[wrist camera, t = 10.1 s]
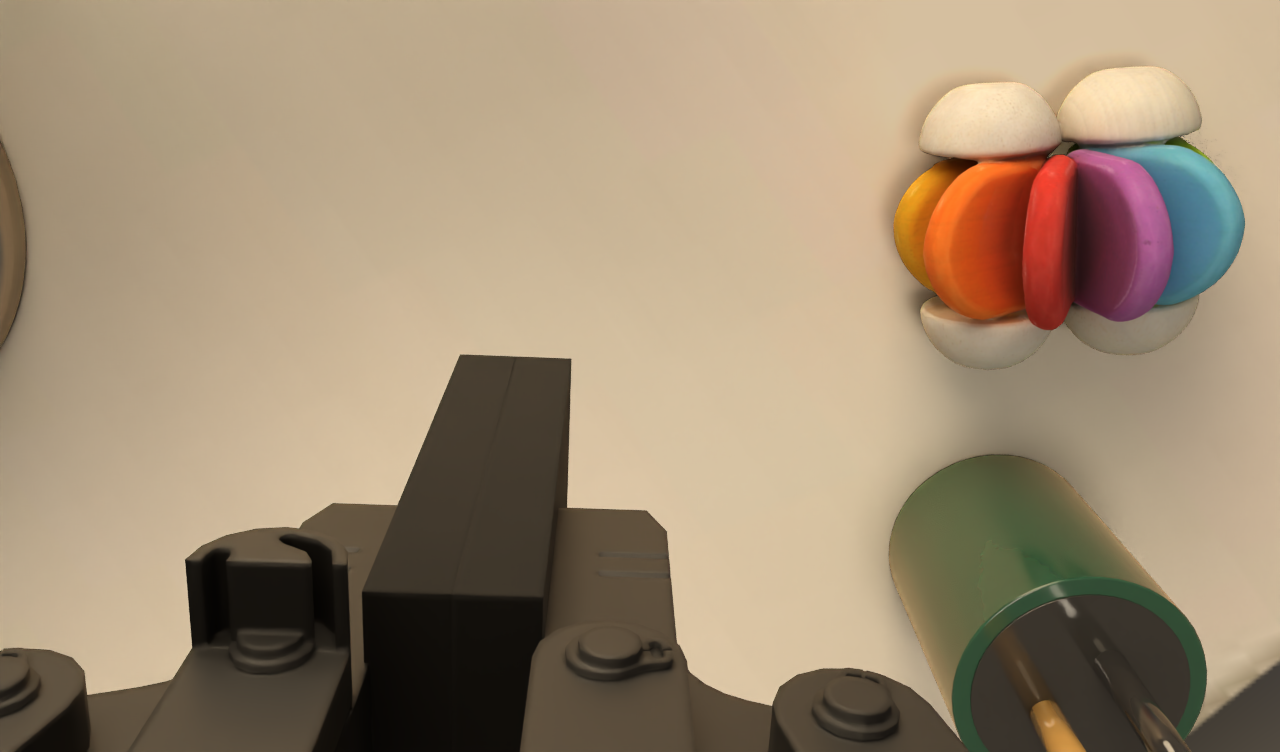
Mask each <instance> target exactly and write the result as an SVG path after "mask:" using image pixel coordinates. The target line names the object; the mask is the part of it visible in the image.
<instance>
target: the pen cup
mask: <svg viewBox="0 0 1280 752" xmlns="http://www.w3.org/2000/svg"><path fill="white" fill-rule="evenodd" d="M889 565H890V570H891V575H892V579H893V581H894V584H895V586H896V589H897V591H898V594H899V596H900V598H901V601H902V603H903V605H904V608H905V610H906V612H907V615H908V617H909V619H910V622H911V624H912V627H913V629H914V631H915V634H916V636H917V638H918V641H919V643H920V645H921V648H922V650H923V652H924V655H925V657H926V659H927V662H928V664H929V667H930V669H931V671H932V674H933V676H934V678H935V681H936V683H937V685H938V688H939V690H940V692H941V695H942V697H943V699H944V702H945V704H946V707H947V709H948V711H949V714H950V716H951V718H952V721H953V723H954V725H955V728H956V730H957V732H958V735H959V737H960V739H961V741H962V743H963V744H964V745H965V747H966V748H967V749H968V750H969V751H970V752H1191V751H1190V749H1189V748H1188V746H1187V745H1186V743H1185V742H1184V740H1185V739H1186V737H1187V736H1188V734H1189V733H1190V731H1191V730H1192V728H1193V726H1194V724H1195V722H1196V720H1197V718H1198V716H1199V714H1200V711H1201V707H1202V704H1203V701H1204V697H1205V691H1206V685H1207V668H1206V661H1205V654H1204V651H1203V648H1202V644H1201V641H1200V639H1199V637H1198V635H1197V633H1196V631H1195V629H1194V627H1193V626H1192V625H1191V623H1190V622H1189V620H1188V619H1187V617H1186V616H1185V615H1184V614H1183V613H1182V611H1181V610H1180V609H1179V608H1178V607H1177V606H1176V605H1175V603H1174V602H1173V601H1172V600H1171V599H1170V598H1169V597H1168V595H1167V594H1166V593H1165V592H1164V591H1163V590H1162V589H1161V587H1160V586H1159V585H1158V584H1157V583H1156V582H1155V581H1154V579H1153V578H1152V577H1151V576H1150V575H1149V574H1148V573H1147V571H1146V570H1145V569H1144V568H1143V567H1142V566H1141V564H1140V563H1139V562H1138V561H1137V560H1136V559H1135V558H1134V556H1133V555H1132V554H1131V553H1130V552H1129V551H1128V550H1127V548H1126V547H1125V546H1124V545H1123V544H1122V543H1121V542H1120V540H1119V539H1118V538H1117V537H1116V536H1115V535H1114V534H1113V532H1112V531H1111V530H1110V529H1109V528H1108V527H1107V526H1106V524H1105V523H1104V522H1103V521H1102V520H1101V519H1100V518H1099V516H1098V515H1097V514H1096V513H1095V512H1094V511H1093V510H1092V508H1091V507H1090V506H1089V505H1088V504H1087V503H1086V502H1085V500H1084V499H1083V498H1082V497H1081V496H1080V495H1079V493H1078V492H1077V491H1076V490H1075V489H1074V488H1073V487H1072V486H1071V485H1070V484H1069V483H1068V481H1067V480H1066V479H1065V478H1063V477H1062V476H1061V475H1059V474H1058V473H1057V472H1056V471H1054V470H1052V469H1051V468H1049V467H1047V466H1045V465H1043V464H1041V463H1038V462H1036V461H1034V460H1030V459H1027V458H1023V457H1018V456H1011V455H987V456H979V457H975V458H970V459H966V460H963V461H961V462H958V463H955V464H952V465H950V466H949V467H947V468H945V469H943V470H941V471H939V472H938V473H936V474H935V475H933V476H932V477H930V478H929V479H928V480H926V481H925V482H924V483H923V484H922V485H921V486H919V487H918V488H917V490H916V491H915V492H914V493H913V494H912V495H911V496H910V497H909V499H908V500H907V502H906V503H905V505H904V506H903V507H902V509H901V511H900V513H899V515H898V517H897V519H896V522H895V524H894V527H893V530H892V534H891V538H890V544H889Z"/></svg>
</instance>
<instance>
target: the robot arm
mask: <svg viewBox="0 0 1280 752" xmlns="http://www.w3.org/2000/svg"><path fill="white" fill-rule="evenodd" d="M25 258H26V243H25V226H24V219H23V212H22V205H21V201H20V197H19V192H18V188H17V184H16V180H15V177H14V174H13V171H12V168H11V165H10V163H9V160H8V157H7V155H6V152H5V150H4V148H3V146H2V143H1V141H0V347H1V346H2V344H3V342H4V340H5V338H6V337H7V334H8V332H9V330H10V327H11V325H12V322H13V320H14V318H15V314H16V311H17V307H18V304H19V300H20V297H21V292H22V286H23V280H24V273H25ZM570 386H571V359H563V358H536V357H510V356H484V355H460V356H459V359H458V361H457V364H456V366H455V368H454V371H453V373H452V376H451V378H450V380H449V383H448V385H447V388H446V390H445V392H444V395H443V397H442V400H441V402H440V404H439V407H438V409H437V412H436V414H435V416H434V419H433V421H432V424H431V426H430V429H429V431H428V433H427V436H426V438H425V441H424V443H423V445H422V448H421V450H420V453H419V455H418V457H417V460H416V462H415V465H414V467H413V469H412V472H411V474H410V477H409V479H408V481H407V484H406V486H405V489H404V491H403V494H402V496H401V498H400V501H399V503H398V506H397V505H367V504H338V503H333V504H331V505H329V506H328V507H326V508H325V509H323V510H322V511H320V512H319V513H317V514H315V515H314V516H312V517H311V518H309V519H308V520H306V521H305V522H303V523H302V525H301V527H300V528H299V529H297V528H289V527H282V528H262V529H253V530H249V531H244V532H239V533H235V534H230V535H226V536H224V537H221V538H219V539H217V540H214V541H212V542H210V543H207V544H205V545H203V546H201V547H200V548H198V549H197V550H196V551H195V552H194V553H193V554H191V555H190V556H189V557H188V558H187V559H185V563H186V575H187V588H188V600H189V612H190V624H191V636H192V649H191V651H190V652H189V654H188V656H187V657H186V659H185V660H184V662H183V664H182V665H181V667H180V668H179V670H178V672H177V673H176V675H175V676H174V678H173V679H172V680H169V681H166V682H162V683H157V684H152V685H147V686H143V687H137V688H131V689H124V690H118V691H111V692H105V693H98V694H92V695H87V691H86V682H85V673H84V670H83V669H82V668H81V667H80V666H79V665H78V663H77V662H76V661H75V660H74V659H73V658H72V657H69V656H66V655H63V654H60V653H57V652H54V651H51V650H40V649H23V648H8V649H3V651H0V752H970V751H969V750H968V749H967V748H966V747H965V745H964V744H963V743H962V742H961V741H960V739H959V738H958V737H957V736H956V735H955V733H954V732H953V731H952V730H951V729H950V727H949V726H948V725H947V724H946V723H945V721H944V720H943V719H942V718H941V717H940V716H939V714H938V713H937V712H936V711H935V710H934V708H933V707H932V706H931V705H930V704H929V703H928V702H927V701H926V700H924V699H923V698H922V697H921V696H920V695H918V694H917V693H916V692H915V691H914V690H912V689H911V688H910V687H908V686H905V685H903V684H901V683H899V682H897V681H894V680H892V679H890V678H888V677H886V676H883V675H881V674H877V673H874V672H870V671H866V672H865V671H863V670H860V669H853V668H844V669H819V670H815V671H811V672H807V673H803V674H799V675H796V676H795V677H793V678H792V679H790V680H789V681H788V682H786V683H785V684H783V685H782V686H780V687H779V690H778V692H777V694H776V697H775V699H774V701H773V705H772V706H769V705H765V704H760V703H756V702H752V701H747V700H744V699H741V698H737V697H734V696H731V695H728V694H724V693H722V692H720V691H718V690H716V689H714V688H712V687H710V686H708V685H706V684H704V683H703V682H702V681H700V680H699V679H698V678H696V677H695V676H694V675H692V674H691V673H690V672H689V670H688V667H687V660H686V658H685V656H684V654H683V652H682V650H681V647H680V645H678V644H677V640H676V629H675V618H674V607H673V596H672V585H671V578H670V563H669V552H668V541H667V531H666V530H665V529H664V528H663V527H662V526H661V525H660V524H659V523H658V522H657V521H656V520H655V519H654V518H653V517H652V516H651V515H650V514H649V513H648V512H647V511H642V510H613V509H584V508H567V488H568V454H569V420H570Z"/></svg>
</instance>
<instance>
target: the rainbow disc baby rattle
mask: <svg viewBox="0 0 1280 752" xmlns="http://www.w3.org/2000/svg"><path fill="white" fill-rule="evenodd" d="M1201 123H1202V118H1201V113H1200V109H1199V106H1198V103H1197V101H1196V99H1195V96H1194V95H1193V93H1192V92H1191V90H1190V89H1189V88H1188V86H1187V85H1186V84H1185V83H1184V82H1183V81H1182V80H1181V79H1180V78H1178V77H1177V76H1176V75H1174V74H1173V73H1171V72H1170V71H1168V70H1166V69H1163V68H1161V67H1154V66H1137V67H1122V68H1111V69H1105V70H1100V71H1097V72H1094V73H1092V74H1090V75H1089V76H1087V77H1086V78H1084V79H1083V80H1082V81H1081V82H1079V83H1078V84H1077V85H1076V86H1075V87H1074V88H1073V89H1072V90H1071V92H1070V93H1069V94H1068V96H1067V97H1066V98H1065V100H1064V101H1063V103H1062V105H1061V107H1060V109H1059V111H1058V114H1057V116H1055V114H1054V112H1053V111H1052V109H1051V107H1050V106H1049V104H1048V103H1047V102H1046V101H1045V99H1044V98H1043V97H1042V96H1041V95H1040V94H1039V93H1037V92H1036V91H1035V90H1033V89H1032V88H1030V87H1029V86H1027V85H1024V84H1021V83H1016V82H993V83H977V84H969V85H964V86H960V87H957V88H954V89H953V90H951V91H950V92H948V93H947V94H946V95H945V96H944V97H943V98H941V99H940V100H939V101H938V103H937V104H936V105H935V106H934V107H933V109H932V110H931V111H930V113H929V115H928V116H927V118H926V120H925V122H924V125H923V128H922V131H921V134H920V139H919V147H920V150H922V151H923V152H925V153H927V154H931V155H937V156H944V157H953V158H951V159H946V160H943V161H941V162H938V163H936V164H934V166H933V167H932V168H930V169H929V170H927V171H926V172H925V173H923V174H922V175H921V176H920V177H919V178H918V179H917V180H915V181H914V182H913V183H912V185H911V186H910V187H909V188H908V190H907V191H906V193H905V194H904V196H903V197H902V199H901V201H900V203H899V206H898V208H897V211H896V214H895V217H894V238H895V243H896V247H897V250H898V253H899V255H900V257H901V259H902V261H903V263H904V265H905V266H906V268H907V269H908V270H909V271H910V273H911V274H912V275H913V276H914V277H915V278H916V279H917V280H918V281H919V282H920V283H921V284H922V285H923V286H925V287H926V288H928V289H930V290H932V291H933V292H935V293H936V294H937V295H938V296H936V297H933V298H931V299H929V300H928V301H926V302H925V303H924V304H923V305H922V307H921V310H920V316H921V320H922V324H923V327H924V330H925V332H926V334H927V336H928V338H929V339H930V341H931V342H932V344H933V345H934V346H935V348H936V349H937V350H938V351H939V352H941V353H942V354H943V355H944V356H945V357H946V358H948V359H949V360H951V361H952V362H954V363H956V364H959V365H962V366H964V367H968V368H974V369H984V370H995V369H1002V368H1007V367H1011V366H1014V365H1016V364H1018V363H1020V362H1022V361H1024V360H1025V359H1027V358H1028V357H1030V356H1031V355H1032V354H1034V353H1035V352H1036V351H1037V350H1038V349H1039V348H1040V347H1041V346H1042V345H1043V343H1044V342H1045V340H1046V339H1047V337H1048V336H1049V334H1050V332H1051V330H1053V329H1056V328H1057V327H1059V326H1060V325H1061V324H1062V323H1063V321H1064V322H1065V323H1066V325H1067V327H1068V328H1069V329H1070V330H1071V331H1072V333H1073V334H1074V335H1075V336H1076V337H1077V338H1078V339H1080V340H1081V341H1082V342H1083V343H1085V344H1086V345H1088V346H1090V347H1091V348H1093V349H1096V350H1098V351H1102V352H1105V353H1109V354H1116V355H1137V354H1144V353H1148V352H1152V351H1155V350H1157V349H1159V348H1161V347H1163V346H1165V345H1166V344H1168V343H1169V342H1171V341H1172V340H1174V339H1175V338H1176V337H1177V336H1178V335H1180V334H1181V332H1182V331H1183V330H1184V329H1185V328H1186V327H1187V325H1188V324H1189V322H1190V321H1191V319H1192V317H1193V315H1194V313H1195V310H1196V308H1197V304H1198V300H1199V294H1200V293H1202V292H1204V291H1205V290H1206V289H1208V288H1209V287H1211V286H1212V285H1213V284H1215V283H1216V282H1217V281H1218V280H1219V279H1220V278H1221V277H1222V276H1223V275H1224V274H1225V272H1226V271H1227V270H1228V269H1229V267H1230V266H1231V264H1232V263H1233V261H1234V260H1235V258H1236V256H1237V254H1238V251H1239V249H1240V246H1241V242H1242V238H1243V234H1244V228H1245V218H1244V213H1243V209H1242V206H1241V203H1240V200H1239V198H1238V196H1237V194H1236V192H1235V190H1234V188H1233V187H1232V185H1231V183H1230V182H1229V180H1228V179H1227V178H1226V176H1225V175H1224V174H1223V173H1222V172H1221V170H1220V169H1218V168H1217V167H1216V166H1215V165H1214V163H1213V162H1212V161H1211V160H1210V159H1209V158H1208V157H1207V156H1206V155H1205V154H1203V153H1202V152H1201V151H1200V150H1198V149H1197V148H1195V147H1194V146H1192V145H1190V144H1188V143H1187V142H1186V141H1185V140H1183V139H1182V138H1181V137H1178V136H1182V135H1187V134H1189V133H1192V132H1194V131H1196V130H1198V129H1199V128H1200V127H1201ZM1061 141H1065V142H1075V143H1076V144H1075V145H1074V146H1072V147H1071V148H1070V149H1069V151H1068V154H1067V156H1065V155H1054V156H1052V157H1050V158H1048V159H1047V157H1048V155H1049V154H1050V153H1052V152H1053V151H1054V150H1055V149H1056V148H1057V147H1058V146H1059V145H1060V144H1061Z"/></svg>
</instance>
